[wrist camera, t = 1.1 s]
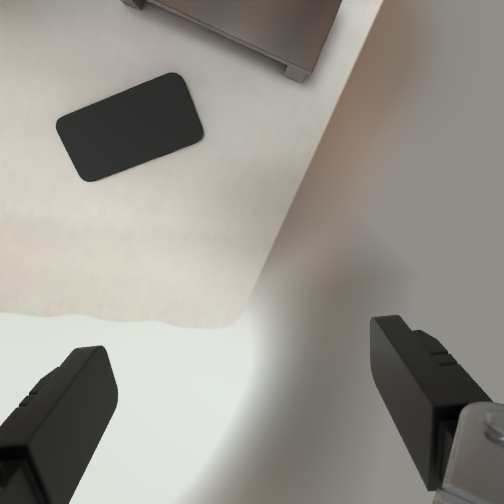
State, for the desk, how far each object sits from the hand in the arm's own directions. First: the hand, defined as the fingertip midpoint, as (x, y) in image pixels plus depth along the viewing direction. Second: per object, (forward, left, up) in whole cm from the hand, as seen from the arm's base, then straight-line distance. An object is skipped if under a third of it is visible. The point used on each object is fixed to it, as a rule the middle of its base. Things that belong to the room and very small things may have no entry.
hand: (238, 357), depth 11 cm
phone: (-14, -6, -32) cm, 35 cm away
